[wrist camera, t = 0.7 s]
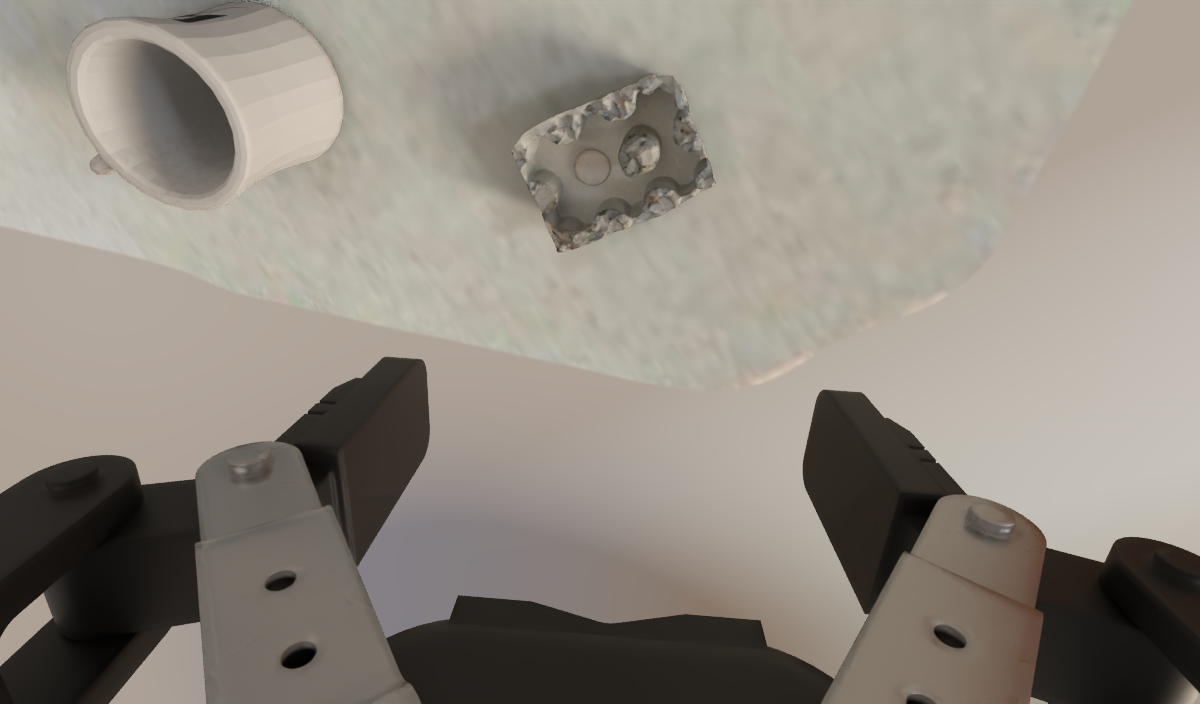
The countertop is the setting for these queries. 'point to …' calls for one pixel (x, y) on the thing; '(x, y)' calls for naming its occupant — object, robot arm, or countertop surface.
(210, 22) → the mug
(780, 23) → the countertop surface
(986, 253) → the countertop surface
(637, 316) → the countertop surface
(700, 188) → the egg carton
